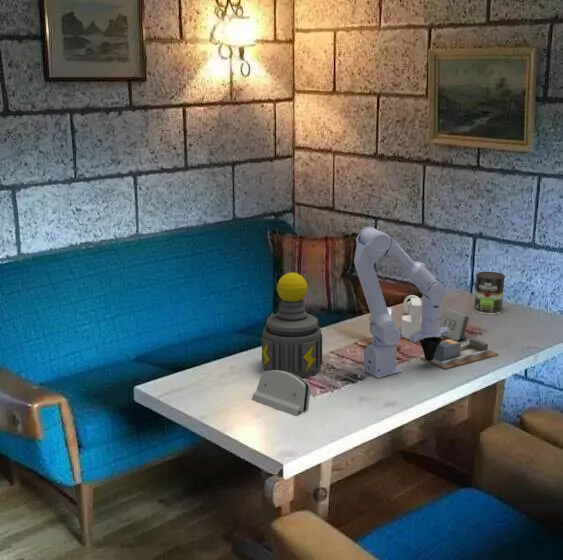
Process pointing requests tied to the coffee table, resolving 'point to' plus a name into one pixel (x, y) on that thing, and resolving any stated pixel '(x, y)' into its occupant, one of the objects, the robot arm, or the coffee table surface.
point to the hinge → (283, 392)
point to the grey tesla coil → (292, 332)
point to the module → (447, 350)
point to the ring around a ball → (409, 303)
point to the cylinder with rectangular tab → (412, 319)
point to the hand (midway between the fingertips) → (428, 359)
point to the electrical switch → (454, 324)
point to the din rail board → (465, 355)
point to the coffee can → (489, 293)
